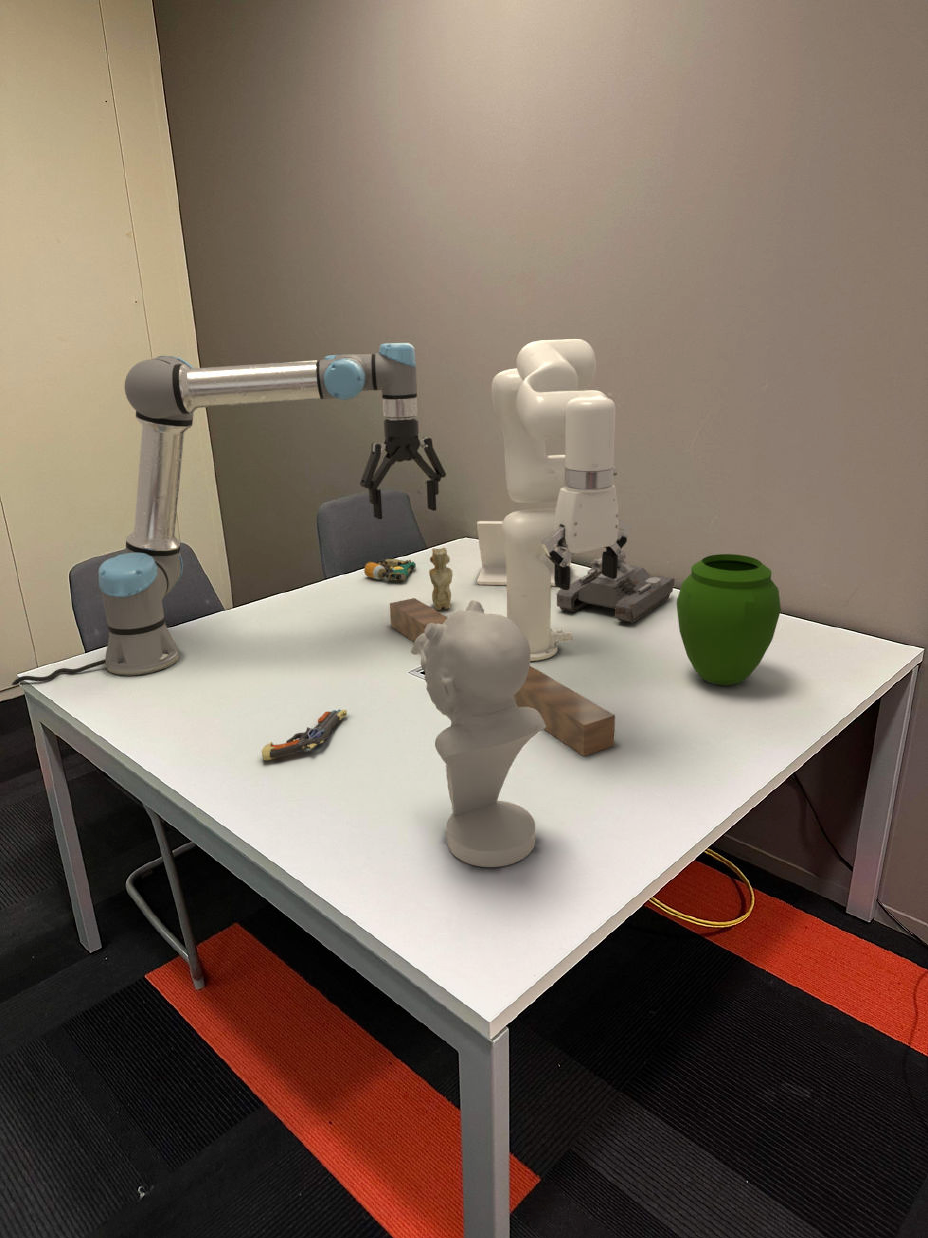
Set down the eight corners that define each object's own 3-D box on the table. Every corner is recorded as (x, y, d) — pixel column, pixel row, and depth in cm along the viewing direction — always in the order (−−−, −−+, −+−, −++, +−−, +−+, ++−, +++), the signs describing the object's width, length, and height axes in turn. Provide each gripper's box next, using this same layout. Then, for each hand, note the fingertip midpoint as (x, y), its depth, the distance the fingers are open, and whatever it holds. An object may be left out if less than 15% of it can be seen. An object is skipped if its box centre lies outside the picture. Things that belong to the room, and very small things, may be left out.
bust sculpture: (481, 772, 140) (476, 569, 128) (565, 848, 120) (569, 617, 108) (392, 800, 134) (378, 588, 121) (465, 886, 114) (457, 642, 101)
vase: (783, 670, 175) (796, 555, 166) (758, 707, 159) (770, 583, 151) (690, 652, 185) (697, 543, 176) (657, 685, 169) (664, 568, 161)
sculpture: (453, 601, 220) (451, 545, 214) (454, 611, 213) (452, 553, 208) (430, 602, 219) (428, 546, 214) (430, 612, 213) (428, 554, 207)
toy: (603, 584, 229) (605, 530, 224) (673, 597, 218) (677, 540, 213) (555, 612, 210) (556, 553, 205) (630, 627, 199) (633, 566, 194)
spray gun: (384, 565, 253) (429, 572, 247) (354, 578, 239) (401, 586, 233) (384, 551, 252) (430, 558, 246) (354, 564, 237) (402, 571, 232)
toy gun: (256, 750, 145) (311, 748, 142) (297, 707, 162) (347, 704, 160) (259, 765, 145) (314, 762, 143) (300, 720, 163) (349, 718, 161)
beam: (614, 746, 148) (615, 715, 146) (583, 756, 145) (584, 725, 143) (415, 620, 208) (414, 597, 206) (390, 626, 205) (389, 603, 203)
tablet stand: (569, 585, 229) (570, 524, 223) (476, 584, 232) (475, 523, 226) (570, 566, 246) (571, 508, 240) (484, 564, 249) (483, 507, 243)
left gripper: (442, 411, 194) (445, 503, 201) (340, 421, 182) (347, 518, 190) (459, 414, 188) (461, 508, 195) (354, 425, 176) (361, 525, 184)
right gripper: (616, 468, 140) (612, 567, 147) (529, 481, 132) (529, 586, 139) (647, 475, 134) (641, 578, 141) (558, 490, 126) (557, 599, 133)
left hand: (405, 513), depth 193 cm, fingers open, 13 cm apart
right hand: (586, 582), depth 140 cm, fingers open, 9 cm apart
